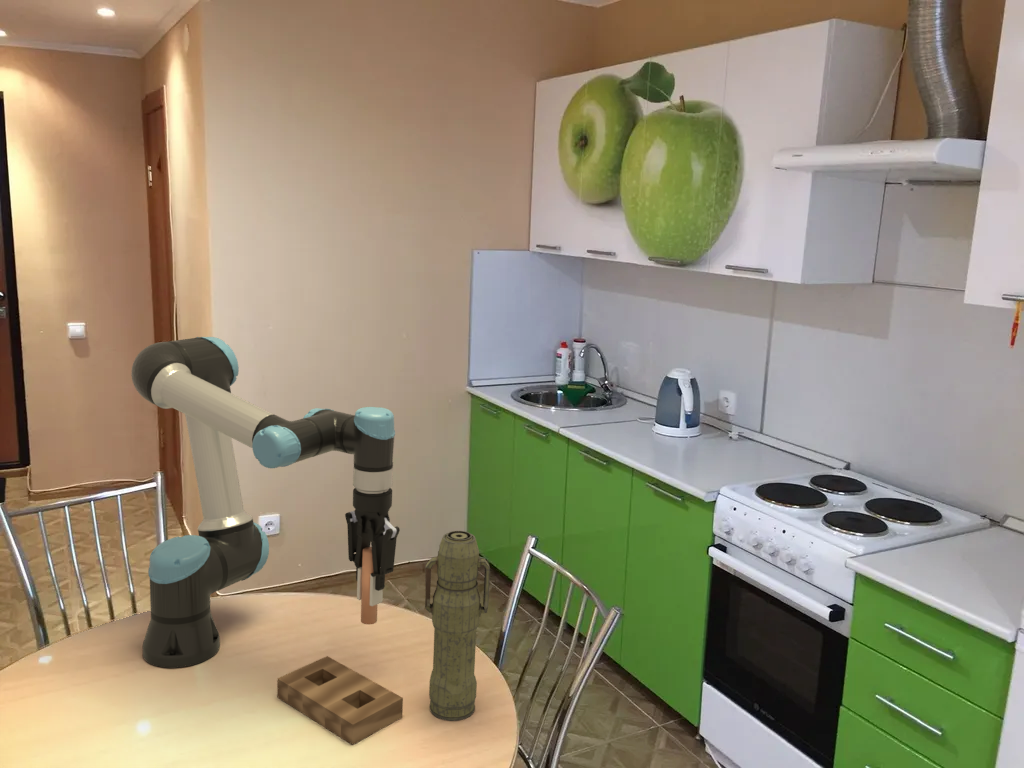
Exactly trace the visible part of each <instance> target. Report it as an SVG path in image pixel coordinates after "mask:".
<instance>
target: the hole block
mask: <svg viewBox="0 0 1024 768" xmlns="http://www.w3.org/2000/svg"><path fill="white" fill-rule="evenodd" d="M276 681H277V684H276V685H277V692H276V693H277V696H276V697H277V698H278V699H279V700H281V701H283V702H284V703H285V704H287V705H289V706H290V707H292V708H293V709H294V710H296V711H298V712H300V713H301V714H302V715H304V716H306V717H308V718H309V719H311V720H312V721H314V722H316V723H317V724H319V725H320V726H322V727H324V729H327V730H328V731H330V732H331V733H333V734H335V735H336V736H338V737H339V738H341V739H342V740H344V741H345V742H347V743H349V744H350V745H352V746H353V745H356V744H357V743H359V742H360V741H363V740H364V739H366V738H368V737H370V736H371V735H373V734H375V733H377V732H379V731H381V730H383V729H384V728H386V727H388V726H389V725H392V724H393V723H395V722H397V721H398V720H400V719H402V718H403V713H404V712H403V711H404V710H403V709H404V708H403V705H404V697H402V696H401V695H399V694H397V693H396V692H395V693H394V692H393V691H391V690H389V689H387V688H386V687H384V686H382V685H380V684H379V683H376V682H375V681H374V680H372V679H369V678H368V677H366V676H364V675H362V674H361V673H359V672H357V671H356V670H353V669H352V668H350V667H348V666H346V665H344V664H342V663H341V662H339V661H337V660H335V659H334V658H332V657H330V656H328V655H326V656H324V657H322V658H319V659H317V660H315V661H313V662H311V663H309V664H306V665H304V666H302V667H300V668H298V669H295V670H293V671H291V672H288V673H286V674H283V675H282V676H280V677H277V679H276Z"/></svg>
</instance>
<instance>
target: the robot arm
mask: <svg viewBox="0 0 1024 768" xmlns="http://www.w3.org/2000/svg"><path fill="white" fill-rule="evenodd" d="M239 367H240V366H239V362H238V358H237V356H236V353H235V352H234V350H233V349H232V348H231V346H230V345H229V344H227V343H226V342H225V340H222V339H221V338H219V337H215V336H196V337H192V338H191V337H190V338H183V339H178V340H177V339H176V340H169V341H160V342H155V343H152V344H149V345H148V346H146V347H144V348H143V349H142V350H141V351H140V352H139V353H138V354H137V355H136V357H135V359H134V360H133V363H132V366H131V373H130V375H131V381H132V384H133V386H134V388H135V390H136V391H137V393H138V394H139V395H140V396H141V397H142V398H144V399H145V400H146V401H148V402H149V403H150V404H152V405H155V406H156V407H159V408H161V409H164V410H165V409H166V410H167V409H174V410H177V411H178V412H181V413H182V414H184V416H185V422H186V426H187V427H186V428H187V433H188V438H189V445H190V450H191V455H192V460H193V466H194V472H195V478H196V483H197V489H198V495H199V500H200V507H201V512H202V517H203V519H202V521H201V522H200V523H199V525H198V527H197V532H198V535H195V534H186V535H183V536H176V537H172V538H169V539H166V540H164V541H163V542H161V543H158V545H156V546H155V547H154V549H152V551H151V553H150V556H149V567H148V571H147V573H148V577H149V594H150V595H149V596H150V597H149V599H150V600H149V601H150V621H149V624H148V626H147V631H146V632H145V637H144V640H143V642H142V657H143V659H144V661H146V662H147V664H148V663H149V664H150V665H152V666H155V667H160V668H166V669H168V668H170V669H172V668H173V669H174V668H175V669H176V668H186V667H190V666H194V665H198V664H200V663H203V662H205V661H208V660H210V659H211V658H212V657H214V656H215V655H216V654H217V653H218V651H220V647H221V646H220V645H221V644H220V643H221V641H220V632H219V631H218V628H217V625H216V623H215V620H214V618H213V615H212V612H211V595H212V594H214V593H216V592H218V591H220V590H223V589H225V588H228V587H230V586H231V585H234V584H236V583H238V582H240V581H241V582H242V581H245V580H247V579H249V578H251V577H252V576H253V575H255V574H257V573H259V572H260V571H261V570H262V569H263V568H264V566H265V565H266V564H267V561H268V559H269V555H270V543H269V538H268V535H267V534H266V533H267V532H265V531H263V527H262V526H261V525H260V524H259V523H258V522H257V523H256V522H254V518H253V516H252V515H251V514H250V513H248V512H247V511H245V509H244V504H243V503H244V502H243V496H242V490H241V485H240V479H239V474H238V472H239V471H238V469H237V461H236V456H235V450H234V445H233V440H235V441H236V442H237V441H238V443H241V444H243V445H245V446H247V447H249V448H251V449H252V452H253V455H254V458H255V459H256V460H257V461H258V462H259V465H261V466H262V467H264V468H268V469H277V468H280V467H281V468H284V467H288V466H291V465H292V464H296V463H298V462H302V461H305V460H308V459H310V458H314V457H318V456H321V455H323V454H327V453H329V452H334V451H335V452H341V453H344V454H350V455H353V475H352V486H353V490H352V506H353V508H354V510H351V511H348V512H346V513H345V514H344V517H345V520H346V524H347V546H348V547H347V551H348V553H347V554H348V561H349V562H353V563H354V566H355V580H356V582H357V584H356V600H357V601H361V594H362V557H363V549H364V548H366V547H372V559H373V573H371V574H370V606H374V605H377V604H378V605H379V604H381V603H383V598H384V596H383V594H384V593H383V592H384V589H385V587H386V585H385V582H386V580H385V579H386V575H388V574H391V573H393V572H394V570H395V569H394V568H395V556H396V547H397V538H398V535H399V533H400V527H399V526H398V525H397V526H393V524H391V521H390V520H391V518H390V515H389V511H390V510H391V508H392V507H393V489H392V487H393V476H394V475H393V472H394V462H393V460H394V447H395V435H396V430H395V416H394V413H393V411H392V410H390V409H388V408H385V407H380V406H379V407H376V406H366V407H361V408H358V409H357V410H356V411H355V413H354V414H351V413H350V414H349V413H345V412H341V411H337V410H334V409H330V408H319V407H318V408H317V407H315V408H312V409H310V410H309V411H308V412H307V414H305V415H304V416H303V418H298V419H296V420H287V419H286V418H284V417H281V416H279V415H276V414H275V413H272V412H270V411H268V410H266V409H264V408H263V407H260V406H258V405H256V404H254V403H251V402H250V401H247V400H245V399H244V398H242V397H239V396H237V395H235V394H233V393H232V392H231V391H232V390H231V389H232V388H231V386H232V385H233V384H235V382H236V381H237V379H238V378H237V377H238V375H239V371H240V370H239ZM378 605H377V606H378Z"/></svg>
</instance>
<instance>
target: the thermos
mask: <svg viewBox="0 0 1024 768" xmlns="http://www.w3.org/2000/svg"><path fill="white" fill-rule="evenodd" d="M438 546H439V549H438V551H437V556H435V557H431V558H430V559H429V560H428V562H427V563H426V565H425V568H424V569H425V574H424V575H425V578H424V579H425V585H424V586H425V587H424V588H425V589H424V590H425V595H424V597H425V598H424V599H425V600H424V609H425V610H426V611H427V612H428V613H430V614H431V618H432V619H431V622H432V625H433V628H434V630H433V631H434V632H433V633H434V634H433V655H432V657H433V658H432V659H433V660H432V662H433V663H432V664H433V665H432V670H431V674H430V677H429V686H428V688H429V690H428V691H429V693H428V696H429V700H430V701H429V712H430V713H431V714H432V715H433V716H434V717H435V718H437V719H439V720H443V721H449V722H457V721H462V720H466V719H467V718H469V717H471V716H472V715H473V714H474V713H475V709H476V705H475V704H476V703H475V701H476V698H477V689H478V688H477V687H478V686H477V685H478V683H477V681H478V680H477V679H476V675H475V669H476V668H475V667H476V665H475V663H476V646H477V645H476V644H477V639H476V638H477V629H478V627H479V625H480V617H481V616H482V614H487V613H488V608H489V599H490V598H489V597H490V577H491V576H490V575H491V567H490V564H489V563H488V561H487V559H486V558H484V557H483V558H482V557H481V556H480V549H479V545H478V542H477V538H476V536H475V535H474V534H473V533H470V532H468V531H464V530H453V531H452V530H451V531H449V532H447V533H444V534H443V536H442V537H441V541H440V543H439V545H438ZM434 565H436V566H437V569H436V574H437V581H436V588H435V590H434V592H433V594H432V603H431V587H432V585H431V584H432V583H431V581H432V579H431V578H432V569H433V567H434ZM482 566H483V567H484V580H483V581H484V582H483V602H482V603H483V606H482V603H481V595H480V593H479V588H478V587H479V586H478V577H479V568H481V567H482Z"/></svg>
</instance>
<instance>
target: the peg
mask: <svg viewBox="0 0 1024 768" xmlns="http://www.w3.org/2000/svg"><path fill="white" fill-rule="evenodd" d="M371 573H373V559H372V546H370V547H366V548H364V549H363V557H362V594H361V600H360V602H361V604H360V622H361V623H362V624H363V625H374V624H376V623H377V622H378V605H379V604H377V605H374V606H370V574H371Z"/></svg>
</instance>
